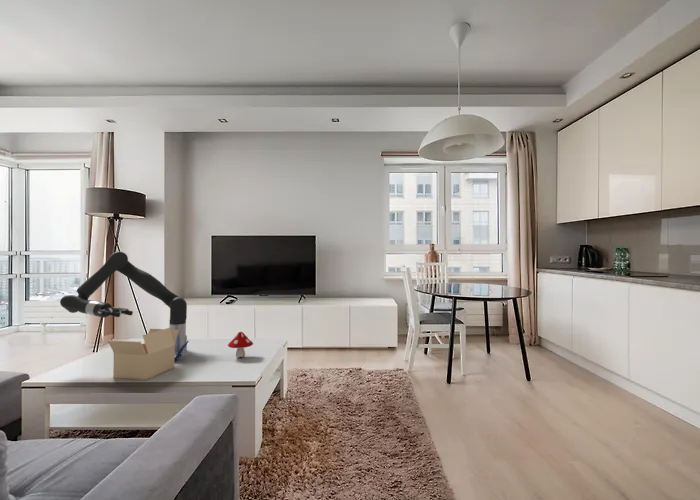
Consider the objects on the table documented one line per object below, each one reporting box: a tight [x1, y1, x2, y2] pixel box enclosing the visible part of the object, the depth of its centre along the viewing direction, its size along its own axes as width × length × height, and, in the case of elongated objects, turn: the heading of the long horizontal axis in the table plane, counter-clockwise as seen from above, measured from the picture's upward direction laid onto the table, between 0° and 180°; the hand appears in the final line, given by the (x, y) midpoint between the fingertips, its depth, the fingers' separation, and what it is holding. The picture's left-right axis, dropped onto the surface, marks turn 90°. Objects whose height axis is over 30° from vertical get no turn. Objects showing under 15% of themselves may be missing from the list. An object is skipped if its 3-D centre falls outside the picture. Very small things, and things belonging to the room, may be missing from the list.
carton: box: [107, 328, 179, 381], centre depth 182 cm, size 28×19×19 cm, turn 170°
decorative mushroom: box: [227, 331, 254, 358], centre depth 210 cm, size 14×14×15 cm
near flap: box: [142, 327, 174, 353], centre depth 181 cm, size 19×9×1 cm
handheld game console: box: [174, 340, 189, 364], centre depth 206 cm, size 16×13×9 cm
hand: (126, 314), depth 187 cm, fingers open, 8 cm apart
